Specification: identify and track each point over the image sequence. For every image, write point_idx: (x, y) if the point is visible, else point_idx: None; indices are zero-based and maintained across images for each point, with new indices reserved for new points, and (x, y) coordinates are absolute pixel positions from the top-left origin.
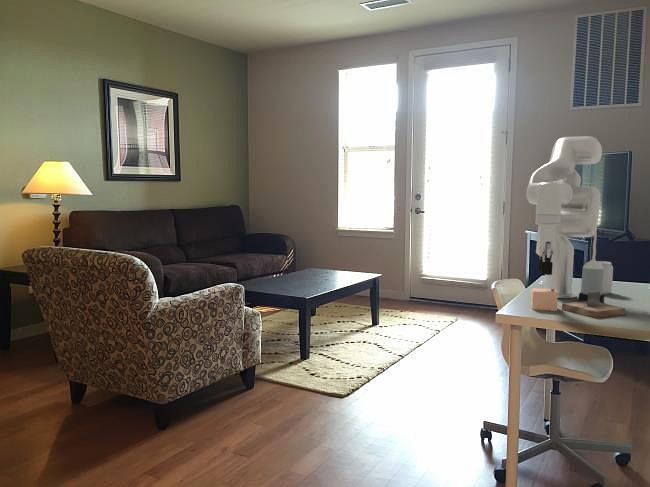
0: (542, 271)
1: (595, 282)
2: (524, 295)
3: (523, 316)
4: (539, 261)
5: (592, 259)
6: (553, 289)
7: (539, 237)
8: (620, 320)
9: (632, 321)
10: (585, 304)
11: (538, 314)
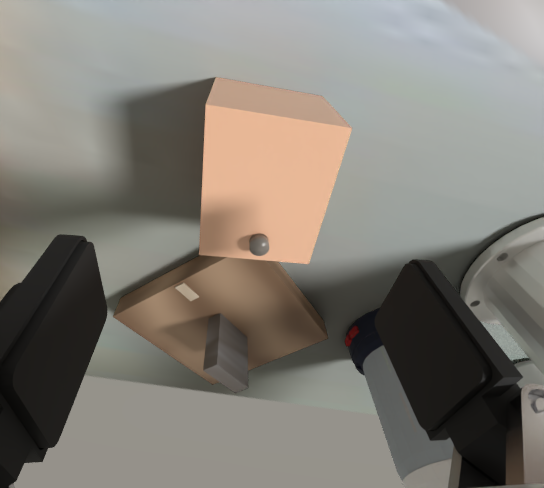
0: (46, 263)
1: (380, 410)
2: None
3: None
4: (468, 348)
5: None
6: (250, 250)
7: None
8: (119, 345)
9: (120, 363)
10: (248, 312)
11: (79, 81)
